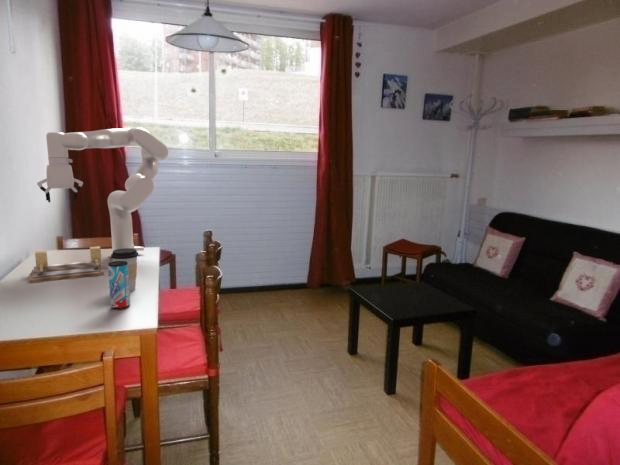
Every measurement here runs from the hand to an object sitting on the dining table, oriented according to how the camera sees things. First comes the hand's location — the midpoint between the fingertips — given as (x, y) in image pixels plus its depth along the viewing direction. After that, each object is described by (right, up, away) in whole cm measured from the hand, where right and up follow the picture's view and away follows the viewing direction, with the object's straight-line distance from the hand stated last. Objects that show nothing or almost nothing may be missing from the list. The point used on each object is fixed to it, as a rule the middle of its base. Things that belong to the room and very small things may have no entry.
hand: (62, 201), depth 190 cm
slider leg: (-1, -29, -13) cm, 31 cm away
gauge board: (+7, -31, -9) cm, 33 cm away
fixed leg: (+17, -27, -3) cm, 32 cm away
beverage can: (+45, -38, -45) cm, 74 cm away
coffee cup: (+40, -35, -28) cm, 60 cm away
